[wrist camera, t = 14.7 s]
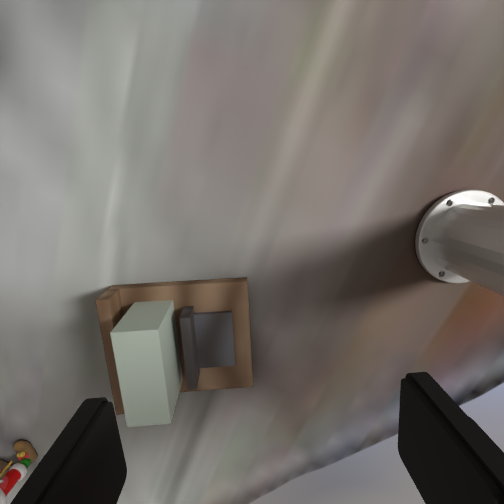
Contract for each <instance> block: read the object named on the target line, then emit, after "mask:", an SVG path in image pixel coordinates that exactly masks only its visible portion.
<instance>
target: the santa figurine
mask: <svg viewBox="0 0 504 504" xmlns="http://www.w3.org/2000/svg"><path fill="white" fill-rule="evenodd" d="M13 448H14V450H15V451H16V452H18V453H17V457H18V460H19V461H20V462H19V463H16V464H14V465H12V464H11V463H12V462H13V461H10V463H8V462H6V461H4V460H0V504H7V500H6V496H7V494H8V493H9V492H10V490H11V489H12V488H13V486H14V485H15V484H16V482H17V481H20V480H22V479H23V478H24V477H25V475H26V473H27V468H28V466H29V465H30V463H32V462H33V461H34V460H35V459H36V458H37V456H38V454H37V452H36V451H35V449H34V448H33V446H32V444H31V443H30V442H29V441H26V440H19V441H17V442H15V444H14V446H13Z"/></svg>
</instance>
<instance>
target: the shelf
mask: <svg viewBox="0 0 504 504" xmlns="http://www.w3.org/2000/svg"><path fill="white" fill-rule="evenodd" d="M163 300H173V304H174V312H175V320H176V329H177V337H178V345H179V353H180V362H181V370H182V378H183V380H182V384H181V388H180V391H179V392H187V391H201V390H215V389H229V388H242V387H253V377H252V358H251V338H250V319H249V300H248V281H247V277H244V278H228V279H211V280H194V281H177V282H160V283H144V284H127V285H112V286H111V287H110V288H109V289H107V290H106V291H105V292H104V293H103V294H102V295H101V296H100V297H98V298H97V299H96V306H97V311H98V317H99V322H100V328H101V333H102V339H103V344H104V350H105V355H106V361H107V366H108V372H109V377H110V383H111V388H112V393H113V399H114V404H115V410H116V415H118V414H125V412H124V407H123V401H122V396H121V390H120V385H119V379H118V373H117V368H116V362H115V357H114V351H113V345H112V340H111V334H110V333H111V331H112V330H113V329H114V327H115V326H116V325H117V324H118V322H119V321H120V320H121V319H122V317H123V316H124V315H125V314H126V312H127V311H128V310H129V309H130V307H131V306H132V305H133V304H134V302H148V301H163Z"/></svg>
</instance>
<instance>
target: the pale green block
mask: <svg viewBox="0 0 504 504" xmlns="http://www.w3.org/2000/svg"><path fill="white" fill-rule="evenodd" d="M110 334H111V340H112V345H113V351H114V357H115V362H116V368H117V373H118V379H119V385H120V390H121V396H122V401H123V407H124V412H125V418H126V424H127V427H138V426H150V425H163V424H171V422H172V418H173V414H174V411H175V407H176V403H177V399H178V395H179V391H180V388H181V384H182V380H183V378H182V370H181V362H180V353H179V345H178V337H177V329H176V320H175V312H174V304H173V300H163V301H148V302H134V304H133V305H132V306H131V307H130V309H129V310H128V311H127V312H126V314H125V315H124V316H123V317H122V319H121V320H120V321H119V322H118V324H117V325H116V326H115V327H114V329H113V330H112V331H111V333H110Z"/></svg>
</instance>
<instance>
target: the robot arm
mask: <svg viewBox="0 0 504 504" xmlns="http://www.w3.org/2000/svg"><path fill="white" fill-rule="evenodd" d="M422 239H423V240H422ZM415 248H416V254H417V257H418V260H419V262H420V264H421V265H422V267H423V268H424V269H425V270H426V271H427V272H428V273H429V274H431V275H432V276H434V277H435V278H437V279H439V280H442V281H445V282H449V283H465V282H469V281H472V282H474V283H476V284H478V285H480V286H483V287H485V288H487V289H489V290H491V291H493V292H496V293H498V294H500V295H502V296H504V203H503V202H502V201H501V200H500V199H499V198H498V197H497V196H495V195H493V194H491V193H489V192H486V191H482V190H474V189H468V190H459V191H455V192H452V193H450V194H448V195H446V196H444V197H442V198H441V199H439V200H438V201H436V202H435V203H434V204H433V205H432V206H431V207H430V208H429V209H428V211H427V212H426V213H425V215H424V216H423V218H422V220H421V222H420V224H419V226H418V229H417V232H416V239H415ZM398 451H399V455H400V457H401V459H402V461H403V463H404V465H405V467H406V468H407V471H408V472H409V474H410V476H411V478H412V479H413V481H414V483H415V485H416V487H417V489H418V490H419V492H420V494H421V496H422V498H423V500H424V502H425V503H426V504H504V453H503V452H502V450H501V449H500V448H499V447H498V446H497V445H496V444H495V443H494V442H493V441H492V440H491V438H489V436H488V435H487V434H486V433H485V432H484V431H483V430H482V429H481V428H480V427H479V426H478V425H477V423H476V422H475V421H474V420H472V419H471V418H470V417H468V416H467V415H466V414H465V413H464V412H463V410H462V409H461V408H460V407H459V406H458V405H457V404H456V403H455V402H454V401H453V400H452V398H451V397H450V396H449V395H448V394H447V393H446V392H445V391H444V390H443V389H442V388H441V387H440V385H439V384H438V383H437V382H436V381H435V380H434V379H433V378H432V377H431V376H430V375H429V374H428V373H427V372H417V373H408V374H407V375H406V378H403V379H402V380H401V390H400V411H399V431H398ZM126 474H127V467H126V462H125V458H124V453H123V449H122V444H121V439H120V435H119V430H118V426H117V421H116V417H115V412H114V407H113V404H112V402H108V400H107V399H106V398H104V397H103V398H90V399H86V400H85V401H84V402H83V403H82V404H81V406H80V407H79V408H78V410H77V411H76V413H75V414H74V415H73V417H72V418H71V420H70V421H69V423H68V424H67V425H66V427H65V428H64V430H63V431H62V432H61V434H60V435H59V437H58V438H57V439H56V441H55V442H54V444H53V445H52V446H51V448H50V449H49V451H48V452H47V453H46V455H45V456H44V457H43V459H42V460H41V461H40V463H39V464H38V466H37V467H36V468H35V470H34V471H33V473H32V474H31V475H30V477H29V478H28V480H27V481H26V482H25V484H24V485H23V487H22V488H21V489H20V491H19V492H18V494H17V495H16V497H15V498H14V499H13V501H12V502H11V504H116V503H117V501H118V498H119V496H120V493H121V491H122V488H123V485H124V483H125V480H126Z"/></svg>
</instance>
